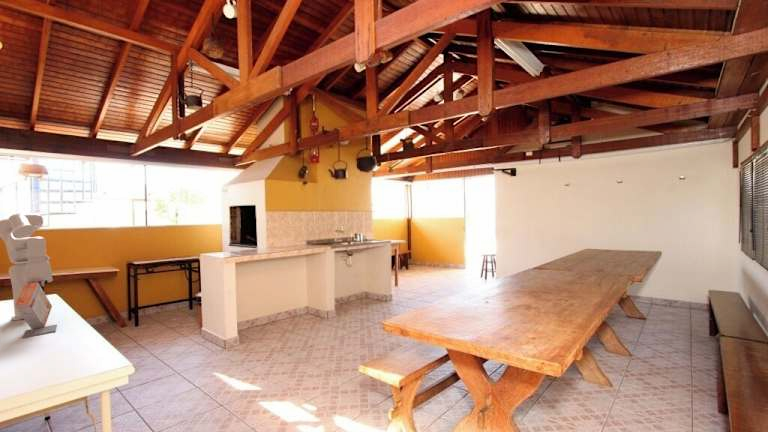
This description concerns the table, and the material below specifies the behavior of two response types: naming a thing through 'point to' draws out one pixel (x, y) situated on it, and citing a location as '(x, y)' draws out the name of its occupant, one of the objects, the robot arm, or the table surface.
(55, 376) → the table surface
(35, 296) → the cracker box
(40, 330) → the mat
